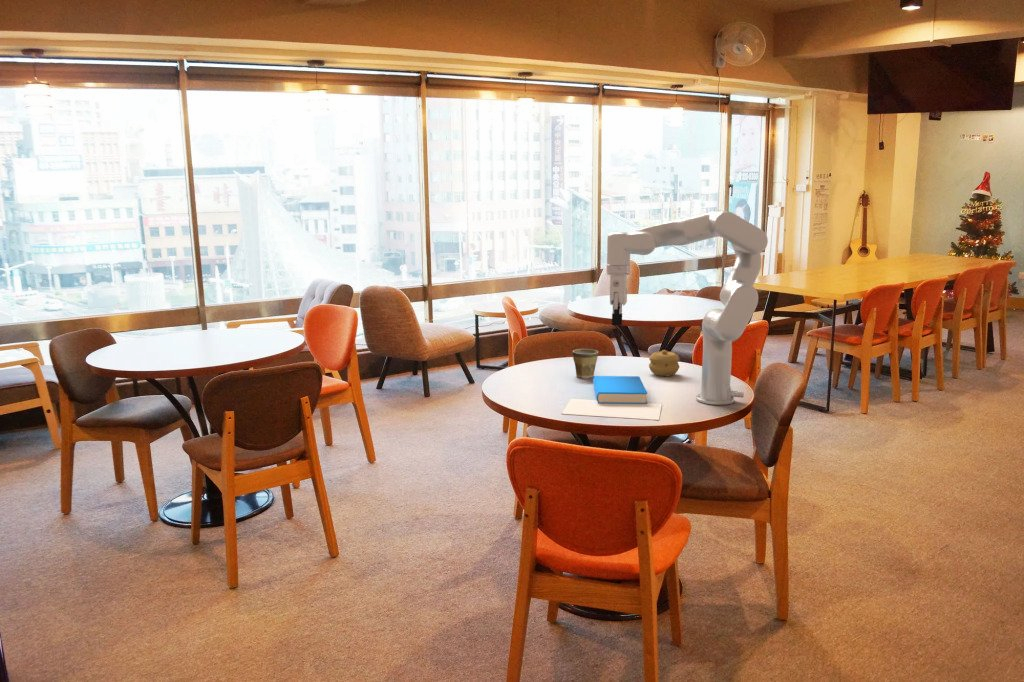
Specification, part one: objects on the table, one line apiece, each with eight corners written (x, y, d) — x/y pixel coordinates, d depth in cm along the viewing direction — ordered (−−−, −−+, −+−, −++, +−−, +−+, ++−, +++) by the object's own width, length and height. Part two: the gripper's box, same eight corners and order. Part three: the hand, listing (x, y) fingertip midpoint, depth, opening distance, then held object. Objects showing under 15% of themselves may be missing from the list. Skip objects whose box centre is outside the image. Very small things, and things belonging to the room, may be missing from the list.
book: (639, 376, 293) (648, 391, 268) (638, 387, 294) (647, 404, 269) (592, 375, 294) (597, 391, 269) (592, 387, 294) (596, 403, 270)
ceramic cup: (598, 379, 305) (599, 354, 303) (572, 379, 305) (573, 353, 303) (596, 371, 317) (596, 347, 315) (570, 371, 318) (571, 347, 316)
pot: (676, 371, 318) (677, 347, 316) (681, 378, 306) (682, 353, 304) (646, 371, 318) (647, 347, 316) (650, 378, 306) (651, 353, 304)
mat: (661, 404, 269) (661, 404, 269) (658, 420, 251) (658, 419, 251) (570, 399, 276) (570, 398, 276) (561, 414, 258) (561, 413, 258)
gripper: (627, 272, 254) (626, 329, 257) (631, 268, 268) (630, 322, 272) (604, 272, 255) (602, 328, 259) (609, 267, 270) (608, 321, 273)
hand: (616, 325), depth 265 cm, fingers closed
